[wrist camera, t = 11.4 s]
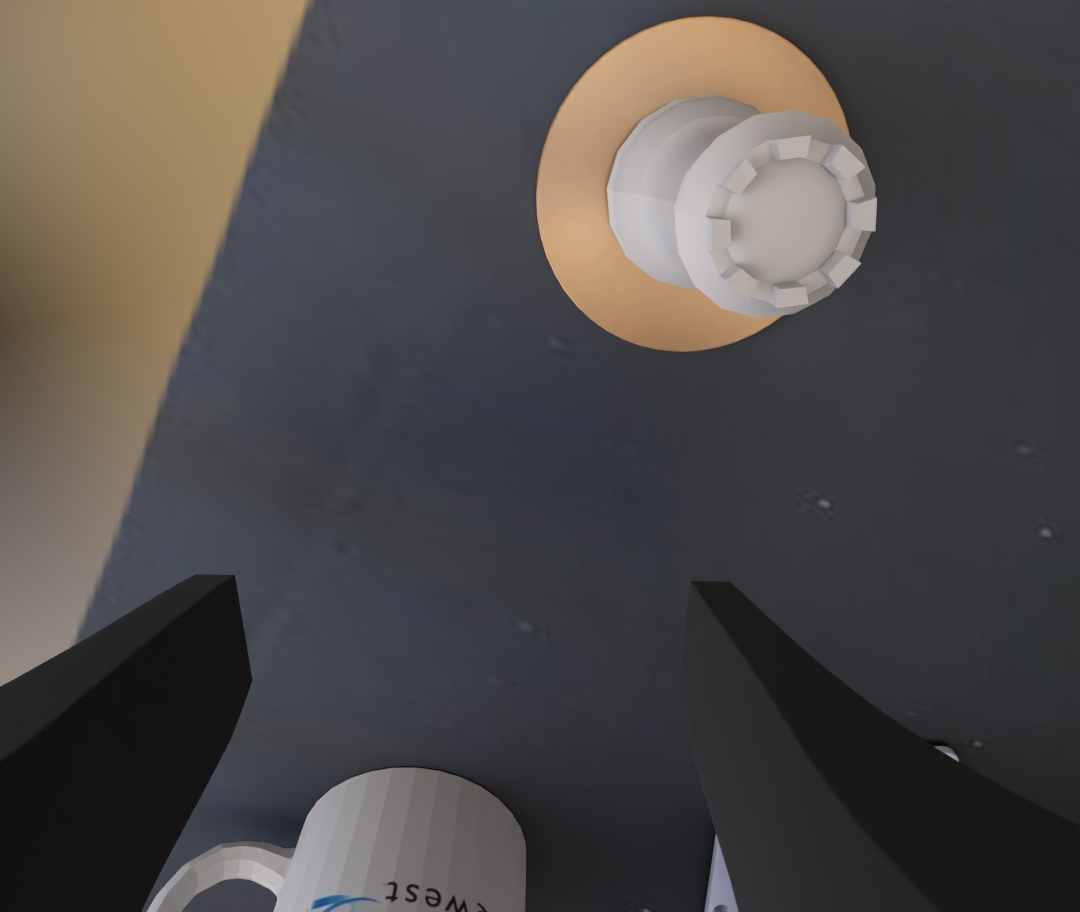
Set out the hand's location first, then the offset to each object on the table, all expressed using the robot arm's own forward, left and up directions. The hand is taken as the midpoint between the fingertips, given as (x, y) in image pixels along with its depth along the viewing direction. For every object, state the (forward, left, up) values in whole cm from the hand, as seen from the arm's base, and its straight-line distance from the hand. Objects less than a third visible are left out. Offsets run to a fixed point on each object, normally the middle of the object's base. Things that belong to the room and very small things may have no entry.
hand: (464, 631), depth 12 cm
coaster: (+6, -5, -10) cm, 13 cm away
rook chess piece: (+6, -5, -10) cm, 13 cm away
